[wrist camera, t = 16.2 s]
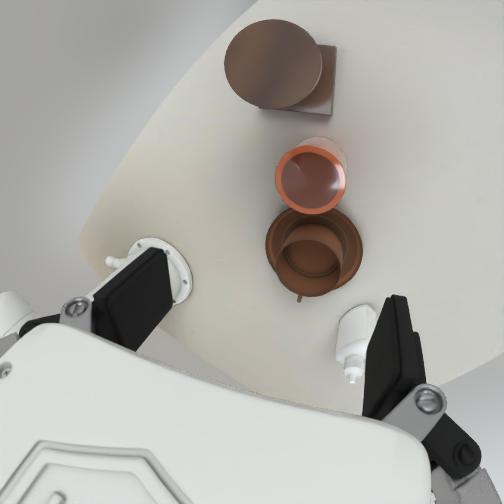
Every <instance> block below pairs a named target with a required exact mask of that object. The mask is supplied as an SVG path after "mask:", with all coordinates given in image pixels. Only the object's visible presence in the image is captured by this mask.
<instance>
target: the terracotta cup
mask: <svg viewBox="0 0 504 504" xmlns="http://www.w3.org/2000/svg"><path fill="white" fill-rule="evenodd" d="M346 174H347V161H346V157H345V154H344V152H343V150H342V149H341V148H340V147H339V145H338V144H336V143H335V142H334V141H332V140H330V139H328V138H324V137H311V138H308V139H306V140H304V141H302V142H301V143H299V144H298V145H297V146H295V147H294V148H293V149H291V150H290V151H288V152H287V153H286V154H285V155H284V156H283V157H282V158H281V160H280V161H279V163H278V165H277V168H276V173H275V183H276V187H277V190H278V193H279V195H280V196H281V198H282V199H283V201H284V202H285V203H286V204H287V205H289V206H290V207H291V208H293V209H294V210H296V211H299V212H301V213H305V214H320V213H324V212H326V211H329V210H330V209H332V208H333V207H335V206H336V205H337V204H338V203H339V201H340V200H341V198H342V197H343V194H344V192H345V188H346Z"/></svg>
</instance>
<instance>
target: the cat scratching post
mask: <svg viewBox="0 0 504 504" xmlns="http://www.w3.org/2000/svg"><path fill="white" fill-rule="evenodd" d="M224 66H225V74H226V77H227V80H228V82H229V84H230V86H231V87H232V89H233V90H234V91H235V93H236V94H237V95H238V96H240V97H241V98H242V99H244V100H245V101H247V102H249V103H250V104H253V105H255V106H259V108H260V109H275V110H286V111H297V112H306V113H314V114H322V115H329V116H331V115H332V109H333V97H334V83H335V68H336V47H335V46H327V45H317V44H316V42H315V41H314V39H313V38H312V37H311V36H310V35H309V33H308V32H306V31H305V30H304V29H303V28H301V27H299V26H298V25H296V24H293V23H291V22H288V21H284V20H276V19H271V20H263V21H259V22H256V23H253V24H251V25H249V26H247V27H245V28H244V29H243V30H241V31H240V32H239V33H238V34H237V35H236V36H235V37H234V38H233V40H232V41H231V43H230V45H229V46H228V49H227V51H226V55H225V62H224Z"/></svg>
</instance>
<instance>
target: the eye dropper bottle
mask: <svg viewBox="0 0 504 504" xmlns="http://www.w3.org/2000/svg"><path fill="white" fill-rule="evenodd" d="M375 326H376V312H375V311H374V310H373V309H372V308H371V307H370V306H369V305H366V304H365V305H361V306H358V307H355V308H353V309H351V310H350V311H348V312H347V313H346V314H345V315H344V316H343V317H342V319H341V320H340V322H339V329H338V336H337V343H336V351H335V359H336V361H337V362H338V363H339V364H341V365H342V366H344V370H343V374H344V376H345V377H347V378H349V383H350V384H354V383H355V381H356V379H357V378H359V377H361V376H362V375H363V369H364V362H365V361H366V350H367V346H368V344H369V341H370V339H371V336H372V334H373V331H374V329H375Z"/></svg>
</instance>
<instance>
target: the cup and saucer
mask: <svg viewBox="0 0 504 504" xmlns="http://www.w3.org/2000/svg"><path fill="white" fill-rule="evenodd" d="M265 245H266V254H267V258H268V261H269V263H270V265H271V267H272V268H273V270H274V271H275V272H276V274H277V275H278V278H279V279H280V281H281V282H282V284H283V285H284V286H285V287H286V288H287V289H289V290H290V291H292V292H294V293H296V294H298V295H299V296H298V299H297V302H298V303H300V302H301V299H302V296H306V297H317V296H321V295H324V294H326V293H328V292H330V291H331V290H334V289H337V288H339V287H341V286H343V285H344V284H346V283H347V282H348V281H350V280H351V279H352V278H353V276H354V275H355V274H356V272H357V271H358V269H359V267H360V264H361V261H362V255H363V248H362V241H361V238H360V235H359V233H358V231H357V229H356V227H355V226H354V224H353V223H352V222H351V221H350V220H349V219H348V218H347V217H346V216H345V215H344V214H342V213H341V212H339V211H338V210H336V209H334V208H332V209H330V210H329V211H326V212H324V213H320V214H305V213H301V212H299V211H296V210H294V209H293V208H289V209H288V210H286V211H284V212H283V213H281V214H280V215H279V216H278V217H277V218H276V219H275V220H274V221H273V223H272V224H271V226H270V228H269V230H268V233H267V236H266V244H265Z"/></svg>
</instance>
